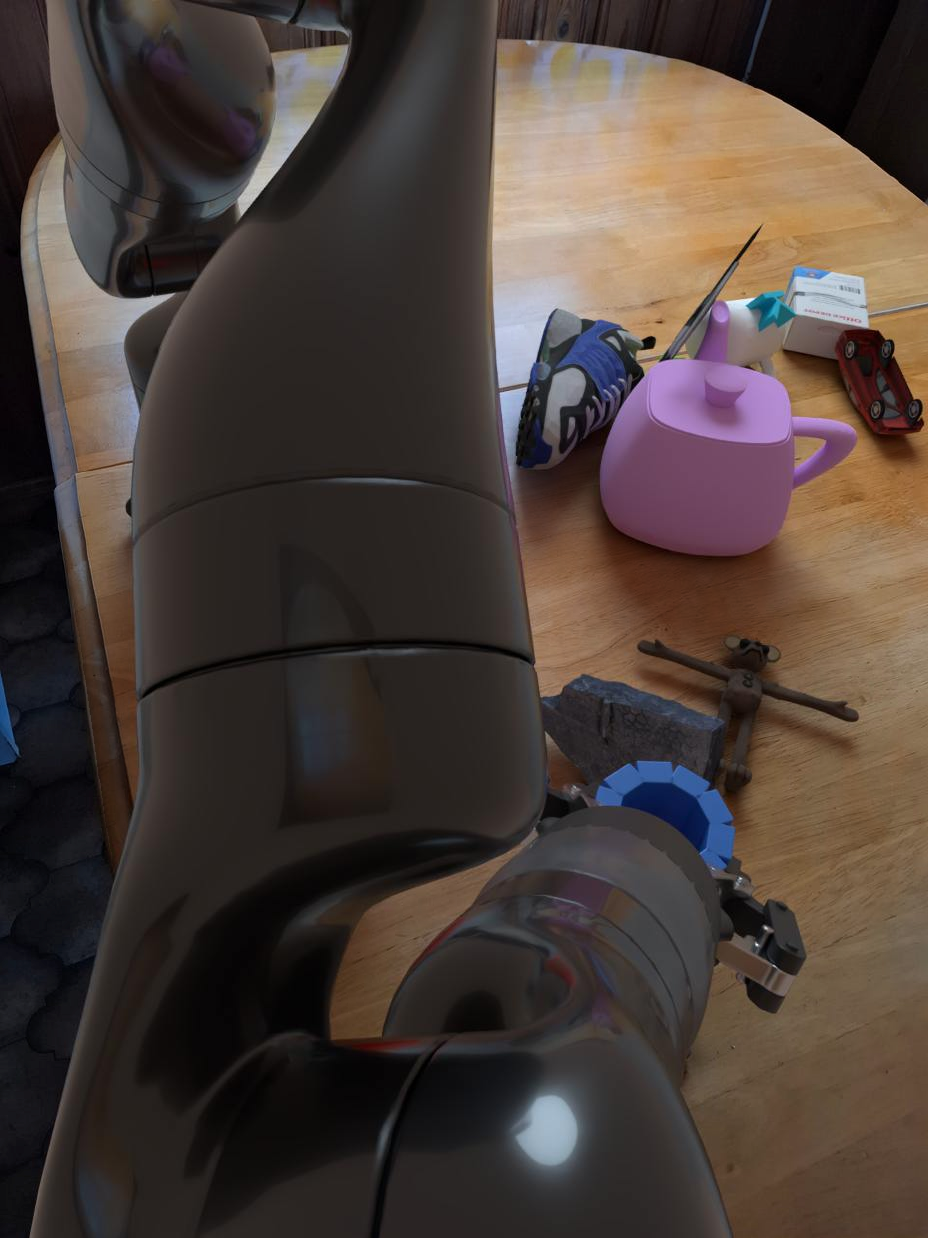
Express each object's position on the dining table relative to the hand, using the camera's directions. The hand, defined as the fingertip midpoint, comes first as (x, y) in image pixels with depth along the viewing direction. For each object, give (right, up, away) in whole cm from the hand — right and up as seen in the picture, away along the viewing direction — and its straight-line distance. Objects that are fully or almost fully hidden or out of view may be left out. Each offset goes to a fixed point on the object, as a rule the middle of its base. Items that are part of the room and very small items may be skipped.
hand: (656, 837), depth 45 cm
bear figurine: (+12, +3, +28) cm, 30 cm away
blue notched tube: (-1, -4, +2) cm, 5 cm away
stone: (+2, -1, +24) cm, 24 cm away
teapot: (+12, +22, +44) cm, 50 cm away
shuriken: (+5, +38, +47) cm, 60 cm away
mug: (+17, +38, +49) cm, 65 cm away
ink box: (+35, +52, +68) cm, 92 cm away
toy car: (+36, +38, +53) cm, 74 cm away
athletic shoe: (-3, +35, +47) cm, 58 cm away
